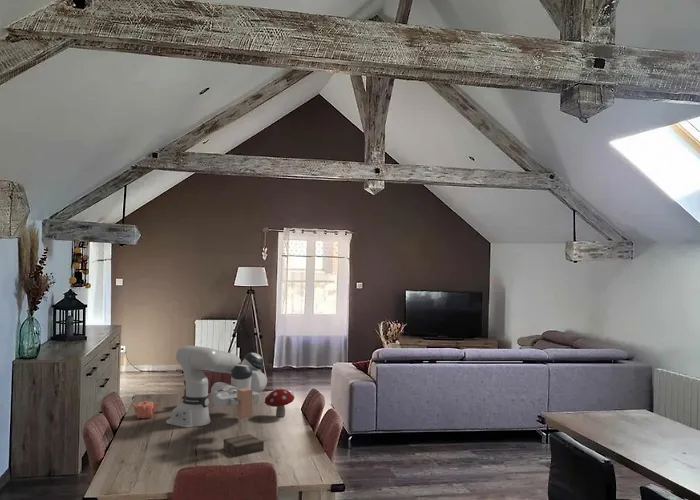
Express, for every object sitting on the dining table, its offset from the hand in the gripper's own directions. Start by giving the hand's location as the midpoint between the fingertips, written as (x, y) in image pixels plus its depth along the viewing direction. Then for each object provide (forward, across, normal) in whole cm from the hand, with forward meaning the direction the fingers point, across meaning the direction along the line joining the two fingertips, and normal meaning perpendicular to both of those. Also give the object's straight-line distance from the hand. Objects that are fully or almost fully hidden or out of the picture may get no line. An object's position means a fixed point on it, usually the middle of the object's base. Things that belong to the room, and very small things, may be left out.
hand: (245, 402), depth 266 cm
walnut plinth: (-1, 0, -21) cm, 21 cm away
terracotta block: (-1, 0, -6) cm, 7 cm away
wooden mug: (-83, -9, -22) cm, 86 cm away
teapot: (-78, +18, -22) cm, 82 cm away
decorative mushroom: (-38, -40, -21) cm, 59 cm away
